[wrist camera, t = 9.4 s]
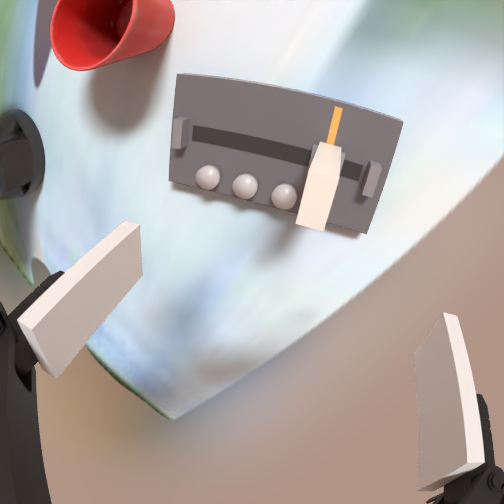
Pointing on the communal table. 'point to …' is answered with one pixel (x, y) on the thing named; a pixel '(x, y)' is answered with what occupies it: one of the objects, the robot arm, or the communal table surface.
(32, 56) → the communal table surface
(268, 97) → the console
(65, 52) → the flower pot
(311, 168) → the fader tab
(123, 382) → the communal table surface
